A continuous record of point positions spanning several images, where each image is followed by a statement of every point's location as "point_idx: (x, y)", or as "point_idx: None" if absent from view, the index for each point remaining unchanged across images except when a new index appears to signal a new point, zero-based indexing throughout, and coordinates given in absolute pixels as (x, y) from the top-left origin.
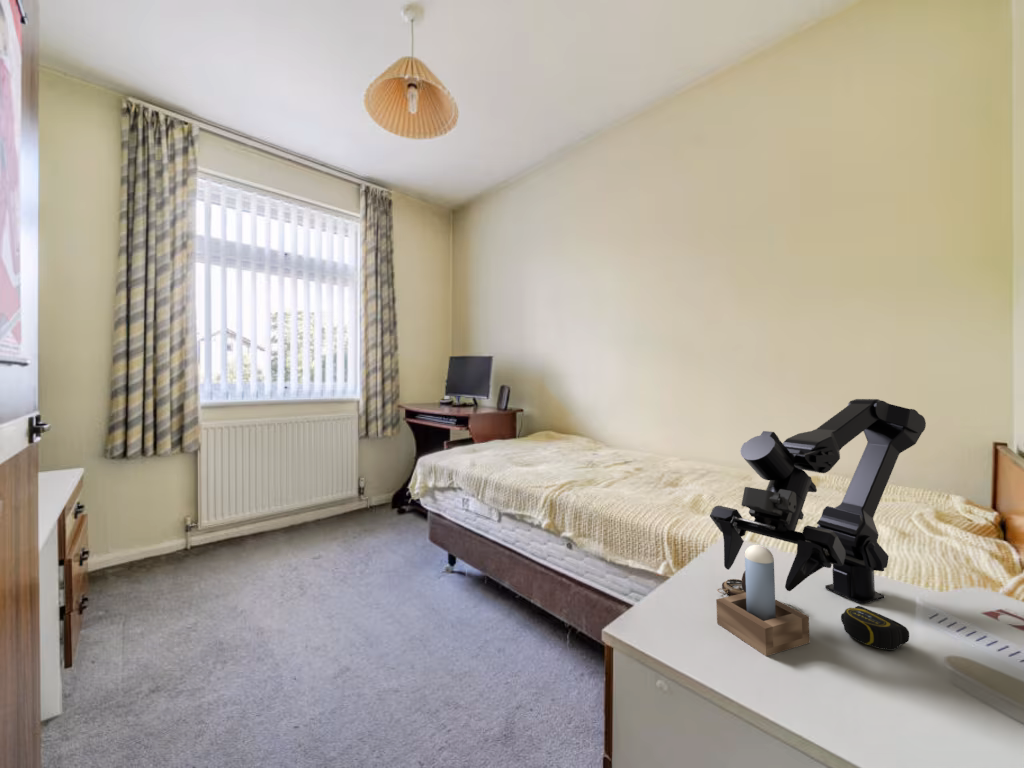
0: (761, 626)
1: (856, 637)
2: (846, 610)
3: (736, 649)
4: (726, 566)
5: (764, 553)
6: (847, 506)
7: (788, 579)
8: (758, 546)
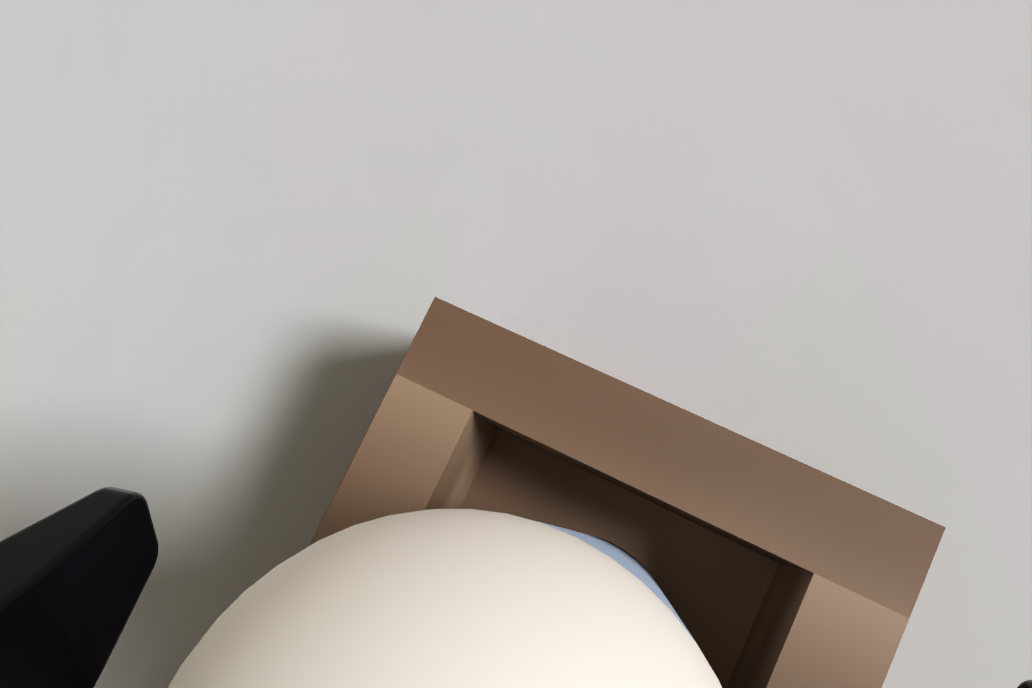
0: (466, 314)
1: None
2: None
3: (637, 286)
4: (1029, 683)
5: (214, 681)
6: None
7: (39, 556)
8: None
